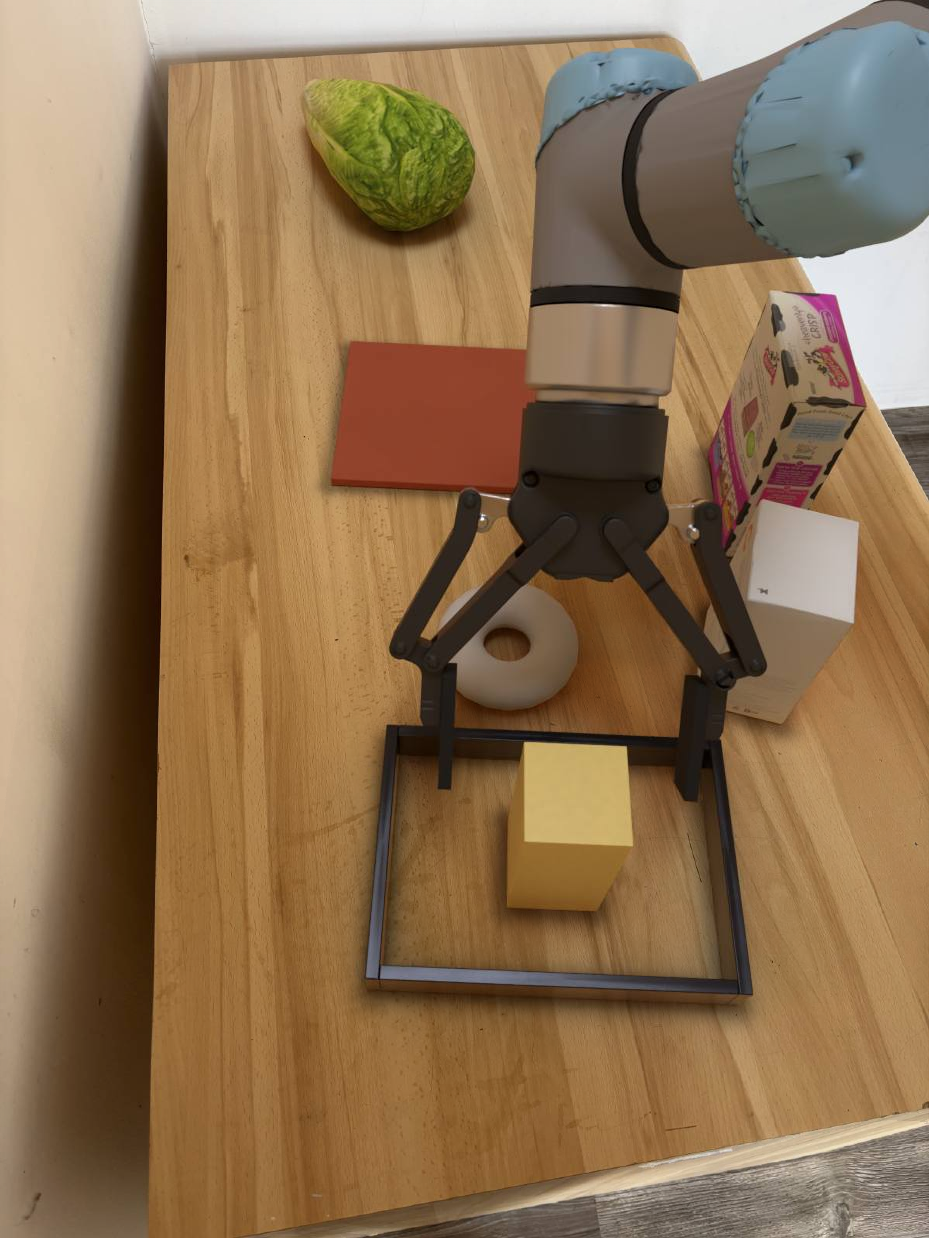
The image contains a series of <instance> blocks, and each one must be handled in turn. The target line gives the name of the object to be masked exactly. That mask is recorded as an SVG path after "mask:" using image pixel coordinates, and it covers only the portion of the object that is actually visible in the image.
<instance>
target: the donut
mask: <svg viewBox="0 0 929 1238" xmlns="http://www.w3.org/2000/svg"><path fill="white" fill-rule="evenodd" d="M484 584H485V583H482V584H480V585H477V586H475V587H472V588H470V589H467V590H466V591H465V592H463V593H462V594H461V595H460V596H458V597H457V598H456V599H455V600H454V601H452V602H451V603H450V604H449V605H448V607H447V608H446V610H445V612H444V613H443V615H442V617H441V618H440V620H439V623H438V627H437V632H436V634H437V633H438V632H439V631H440V629H441V628H442V627H443V626H444V625H445V624H446V623H447V622H448V621H449V620H450V619H451V618H452V617H453V616H454V615H455V614H456V613H457V612H458V611H459V610H460V609H461V608H462V607H463V606H464V604H465V603H466V602H467V601H468V600H469V599H470V598H471V597H472V596H473V595H474V594H475V593H476V592H477V591H478V590H479V589H480V588H481V587H482V586H483V585H484ZM501 628H509V629H514V630H517V631H518V632H521V633H523V635H524V636H526V638H527V639H528V641H529V643H530V647H529V652H528V653H527V654H526V655H524V657H522V658H519V659H517V660H511V661H510V660H509V661H508V660H501V659H498V658H497V657H494V656H492V655H491V654H490V653H489V652H488V651H487V649H486V648H485V645H484V641H485V638H486V637H487V635H488V634H489V633H490V632H491V631H494V630H496V629H501ZM579 644H580V643H579V638H578V634H577V630H576V626H575V623H574V621H573V620H572V617H571V616H570V615H569V613H568V612H567V610H566V609H565V607H564V606H563V605H562V603H560V602H559V601H558V600H556V598H554V597H553V596H552V595H550V594H549V593H548V592H547V591H545V590H543V589H540V588H538V587H535V586H533V585H531V584H529V583H527V584H526V585H524V586H523V587H521V588H520V589H519V590H518V591H517V592H516V593H515V594H514V595H513V596H512V597H511V598H510V599H509V600H508V601H507V602H506V603H505V605H504V606H503V607H502V608H501V609H500V610H499V611H498V612H497V613H496V614H495V615H494V616H493V617H492V618H491V619H490V620H489V621H488V622H487V623H486V624H485V625H484V626H483V627H482V628H481V629H480V630H479V631H478V632H477V633H476V634H475V636H474V637H473V638H472V639H471V640H470V641H469V642H468V643H467V644H466V645H465V646H464V647H463V648H462V649H461V650H460V651H459V652H458V653H457V654H456V655H455V656H454V657H453V658H452V659H451V660H450V661H449V662H448V663H457V686H456V691H457V692H459V693H460V694H461V695H462V696H463V697H464V698H465V699H468V700H470V701H472V702H474V703H476V704H479V705H480V706H483V707H485V708H488V709H495V710H496V709H497V710H502V711H516V710H523V709H530V708H534V707H536V706H537V705H540V704H542V703H545V702H547V701H549V700H551V699H552V698H553V697H554V696H555V695H556V694H557V693H558V692H559V691H561V690H562V689H563V688H564V687H565V686H566V685H567V684H568V682H569V681H570V678H571V676H572V673H573V672H574V670H575V668H576V666H577V663H578V655H579V646H580V645H579Z"/></svg>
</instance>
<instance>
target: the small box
mask: <svg viewBox="0 0 929 1238" xmlns="http://www.w3.org/2000/svg"><path fill="white" fill-rule="evenodd" d="M860 525H861V523H860V522H859V521H857V520H853V519H848V518H845V517H840V516H835V515H831V514H827V513H823V512H819V511H814V510H810V509H809V510H806V509H802V508H798V507H793V506H789V505H785V504H781V503H776V502H772V501H768V500H765V499H762V500H761V501H760V503H759V505H758V507H757V509H756V511H755V513H754V515H753V517H752V519H751V521H750V523H749V525H748V528H747V530H746V532H745V534H744V536H743V538H742V540H741V542H740V544H739V546H738V549H737V551H736V553H735V555H734V557H733V558H731V561H730V562H729V564H730V567H731V569H732V572H733V574H734V577H735V580H736V582H737V585H738V588H739V590H740V593H741V596H742V598H743V601H744V604H745V606H746V609H747V611H748V614H749V617H750V619H751V622H752V625H753V627H754V630H755V633H756V635H757V638H758V640H759V643H760V646H761V648H762V651H763V654H764V656H765V659H766V662H767V669H766V671H765V673H764V674H763V675H761V676H759V677H752V676H748V677H744V678H741V679H738V680H736V684H735V686H734V687H733V688H732V689H731V690H729V691H728V695H727V704H726V712H730V713H734V714H738V715H742V716H746V717H750V718H755V719H759V720H763V721H767V722H771V723H775V724H778V725H782V724H783V723H785V721H786V720H787V719H788V717H789V716H790V714H791V713H792V711H793V710H794V709H795V707H796V706H797V704H798V703H799V701H800V700H801V699H802V697H803V696H804V694H805V693H806V691H808V688H809V687H810V686H811V684H812V683H813V682H814V681H815V679H816V678H817V676H818V675H819V673H820V672H821V671H822V670H823V668H824V667H825V665H826V663H827V662H828V661H829V659H830V658H831V657H832V655H833V654H834V653H835V651H836V650H837V648H838V647H839V645H840V644H841V643H842V641H843V640H844V638H845V637H846V635H847V634H848V633H849V632H850V631H851V629H852V628H853V626H854V625H855V624H856V608H857V607H856V605H857V585H858V564H859V547H860V546H859V543H860V542H859V541H860ZM703 632H704V634H705V635H706V637H707V638H708V639H709V641H710V642H711V643H712V645H713V646H714V648H715V649H716V650H717V652H718V653H719V654H722V653H725V652H728V651H730V650H729V648H728V645H727V642H726V640H725V637H724V635H723V632H722V630H721V627H720V624H719V622H718V619H717V617H716V614H715V611H714V609H713V606H712V604H711V603H710V605H709V607H708V609H707V611H706V615H705V621H704V628H703ZM696 675H699V676H700V675H701V670H700V669H699V667H698V666H697V673H696Z"/></svg>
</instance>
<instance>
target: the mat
mask: <svg viewBox="0 0 929 1238" xmlns="http://www.w3.org/2000/svg"><path fill="white" fill-rule="evenodd" d="M348 350H349V351H348V356H347V358H348V359H347V365H346V371H345V379H344V385H343V393H342V398H341V406H340V411H339V412H340V413H339V420H338V421H339V422H338V427H337V434H336V440H335V441H336V442H335V448H334V455H333V461H332V469H331V476H330V481H331V485H332V486H348V487H365V488H366V487H367V488H368V487H369V488H388V489H409V490H411V489H412V490H433V491H450V492H452V491H453V492H460V491H461V490H462V489H463V488H465V487H467V486H472V487H475V488H476V489H477V490H478V491H480V492H485V493H491V494H512V493H513V491H514V489H515V487H516V484H517V481H518V470H519V455H520V439H521V424H522V409H523V408H526V406H527V402H535V390H529V389H528V388H527V387H526V386H525V385H524V377H525V362H526V349H523V348H522V349H519V348H502V347H501V348H499V347H482V346H481V347H480V346H479V347H477V346H459V345H457V346H456V345H441V344H439V345H438V344H417V343H402V342H401V343H399V342H377V341H358V340H350V345H349V349H348Z"/></svg>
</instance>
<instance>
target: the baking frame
mask: <svg viewBox="0 0 929 1238" xmlns="http://www.w3.org/2000/svg"><path fill="white" fill-rule="evenodd" d="M524 742H539V743H562V744H584V745H606V746H626V747H627V757H628V766H643V767H664V768H665V767H666V768H675V763H676V754H677V744H678V736H663V735H662V736H661V735H660V736H659V735H637V734H636V735H635V734H617V733H591V732H573V731H572V732H569V731H551V730H550V731H549V730H547V731H546V730H529V729H528V730H527V729H526V730H525V729H507V728H506V729H504V728H503V729H502V728H481V727H460V726H459V727H457V726H454V744H453V758H460V759H484V760H485V759H486V760H505V761H506V760H508V761H520V759H521V755H522V750H523V745H524ZM439 748H440V727H423V725H416V724H413V725H411V724H390V723H389V724H386V726H385V737H384V748H383V760H382V771H381V781H380V793H379V794H380V795H379V803H378V804H379V805H378V817H377V829H376V840H375V852H374V863H373V876H372V888H371V897H370V898H371V899H370V910H369V922H368V934H367V944H366V945H367V946H366V957H365V967H364V968H365V969H364V981H365V985H366V988H367V990H369V991H387V992H388V991H390V992H413V993H416V992H417V993H434V994H435V993H439V994H459V995H460V994H461V995H483V996H484V995H486V996H487V995H488V996H508V997H509V996H511V997H532V998H534V997H535V998H554V999H555V998H558V999H559V998H560V999H584V1000H607V1001H628V1002H629V1001H631V1002H633V1001H634V1002H651V1003H652V1002H653V1003H655V1002H656V1003H677V1004H679V1003H680V1004H702V1005H703V1004H705V1005H728V1006H739V1005H740V1004H742V1003H743V1002H745V1001H747V1000H748V999H750V998H751V997H753V996H754V988H753V979H752V972H751V964H750V958H749V947H748V940H747V932H746V925H745V917H744V909H743V902H742V901H743V900H742V892H741V884H740V877H739V870H738V861H737V854H736V853H737V852H736V846H735V839H734V830H733V821H732V814H731V813H732V812H731V807H730V798H729V790H728V783H727V774H726V767H725V766H726V765H725V759H724V750H723V743H722V739H721V738H720V739H719V741H715V740H705V742H704V751H703V760H702V769H701V778H700V789H701V798H702V805H703V806H702V807H703V816H704V824H705V833H706V841H707V851H708V852H707V853H708V860H709V870H710V879H711V889H712V897H713V906H714V915H715V923H716V933H717V941H718V942H717V943H718V950H719V951H718V952H719V959H720V969H721V977H722V978H707V977H683V976H681V977H680V976H661V975H660V976H659V975H658V976H657V975H636V974H635V975H633V974H612V973H609V974H608V973H589V972H588V973H587V972H586V973H585V972H566V971H565V972H563V971H562V972H561V971H539V970H517V969H516V970H513V969H492V968H491V969H489V968H469V967H468V968H467V967H447V966H446V967H445V966H444V967H443V966H442V967H441V966H420V965H419V966H417V965H396V964H395V965H394V964H384V958H385V957H384V956H385V943H386V932H387V918H388V906H389V905H388V903H389V890H390V880H391V879H390V877H391V865H392V853H393V851H392V850H393V841H394V840H393V839H394V826H395V815H396V814H395V813H396V801H397V800H396V799H397V787H398V786H397V785H398V775H399V763H400V762H399V759H400V756H415V757H416V756H418V757H438V758H439Z"/></svg>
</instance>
